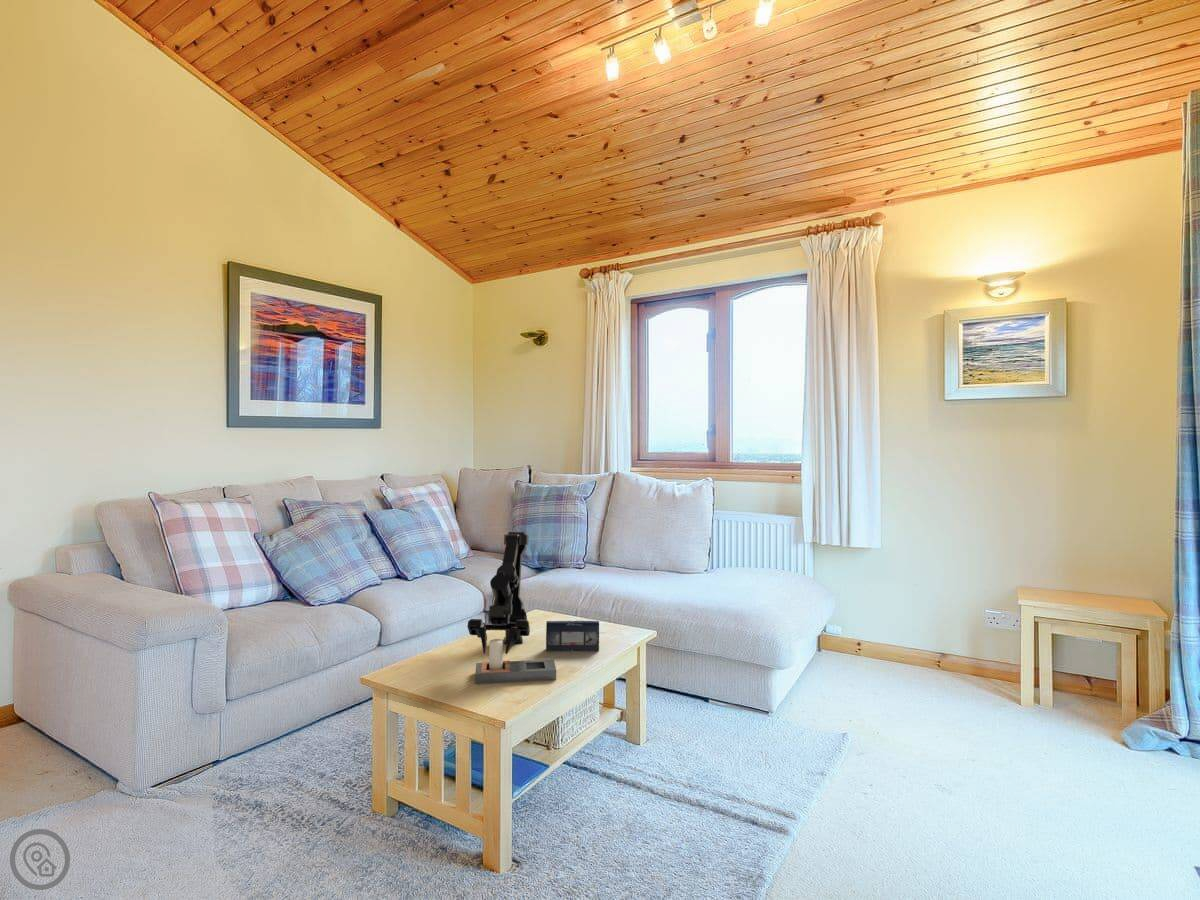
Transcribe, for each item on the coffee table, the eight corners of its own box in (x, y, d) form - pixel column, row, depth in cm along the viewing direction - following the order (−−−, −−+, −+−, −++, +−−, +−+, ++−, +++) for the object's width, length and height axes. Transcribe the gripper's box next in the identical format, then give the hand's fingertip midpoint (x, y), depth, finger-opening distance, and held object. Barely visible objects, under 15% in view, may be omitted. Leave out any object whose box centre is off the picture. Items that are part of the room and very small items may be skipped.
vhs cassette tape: (545, 651, 208) (545, 622, 208) (546, 648, 211) (546, 620, 211) (599, 652, 208) (599, 623, 208) (599, 649, 211) (599, 620, 211)
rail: (476, 672, 188) (476, 662, 188) (553, 668, 192) (553, 658, 192) (475, 684, 179) (475, 672, 179) (556, 679, 183) (556, 668, 183)
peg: (492, 674, 187) (492, 638, 187) (504, 675, 186) (504, 639, 186) (487, 679, 183) (487, 642, 183) (499, 680, 182) (500, 643, 182)
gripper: (469, 593, 188) (459, 640, 177) (528, 594, 188) (523, 641, 177) (474, 611, 196) (466, 657, 185) (531, 612, 196) (526, 658, 185)
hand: (495, 653), depth 183 cm, fingers open, 6 cm apart
